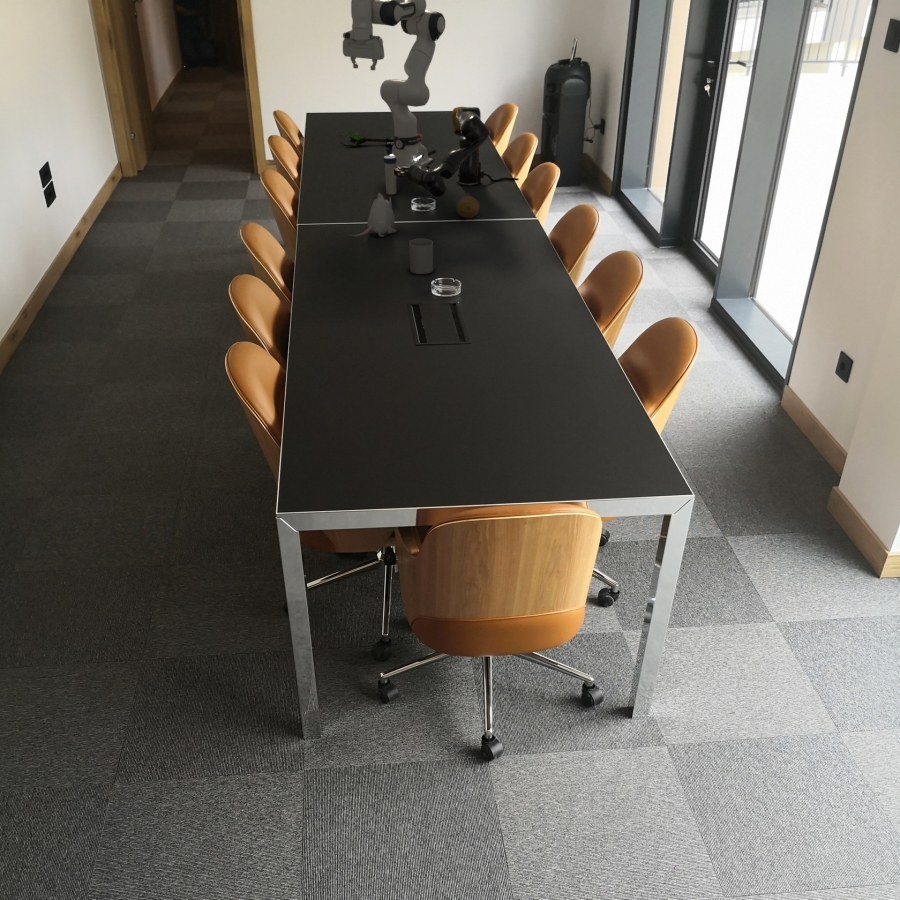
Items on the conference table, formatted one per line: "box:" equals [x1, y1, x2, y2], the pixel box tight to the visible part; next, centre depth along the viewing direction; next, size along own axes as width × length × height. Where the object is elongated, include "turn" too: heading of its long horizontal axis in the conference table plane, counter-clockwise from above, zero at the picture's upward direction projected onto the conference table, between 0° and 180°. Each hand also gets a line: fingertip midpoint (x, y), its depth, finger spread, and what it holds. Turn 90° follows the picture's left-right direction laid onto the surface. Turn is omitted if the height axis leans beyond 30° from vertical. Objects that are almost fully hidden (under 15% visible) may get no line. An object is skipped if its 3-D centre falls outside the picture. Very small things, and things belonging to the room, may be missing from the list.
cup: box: [408, 237, 434, 275], centre depth 305 cm, size 8×8×10 cm
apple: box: [451, 105, 463, 132], centre depth 487 cm, size 11×11×13 cm
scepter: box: [339, 131, 394, 148], centre depth 461 cm, size 6×13×30 cm
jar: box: [384, 163, 398, 195], centre depth 384 cm, size 5×5×15 cm
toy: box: [349, 192, 397, 238], centre depth 334 cm, size 9×24×15 cm, turn 137°
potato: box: [456, 195, 481, 219], centre depth 357 cm, size 10×14×8 cm
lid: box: [383, 155, 396, 164], centre depth 380 cm, size 6×6×2 cm
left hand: (364, 69), depth 380 cm, fingers open, 8 cm apart
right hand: (405, 167), depth 363 cm, fingers open, 8 cm apart
